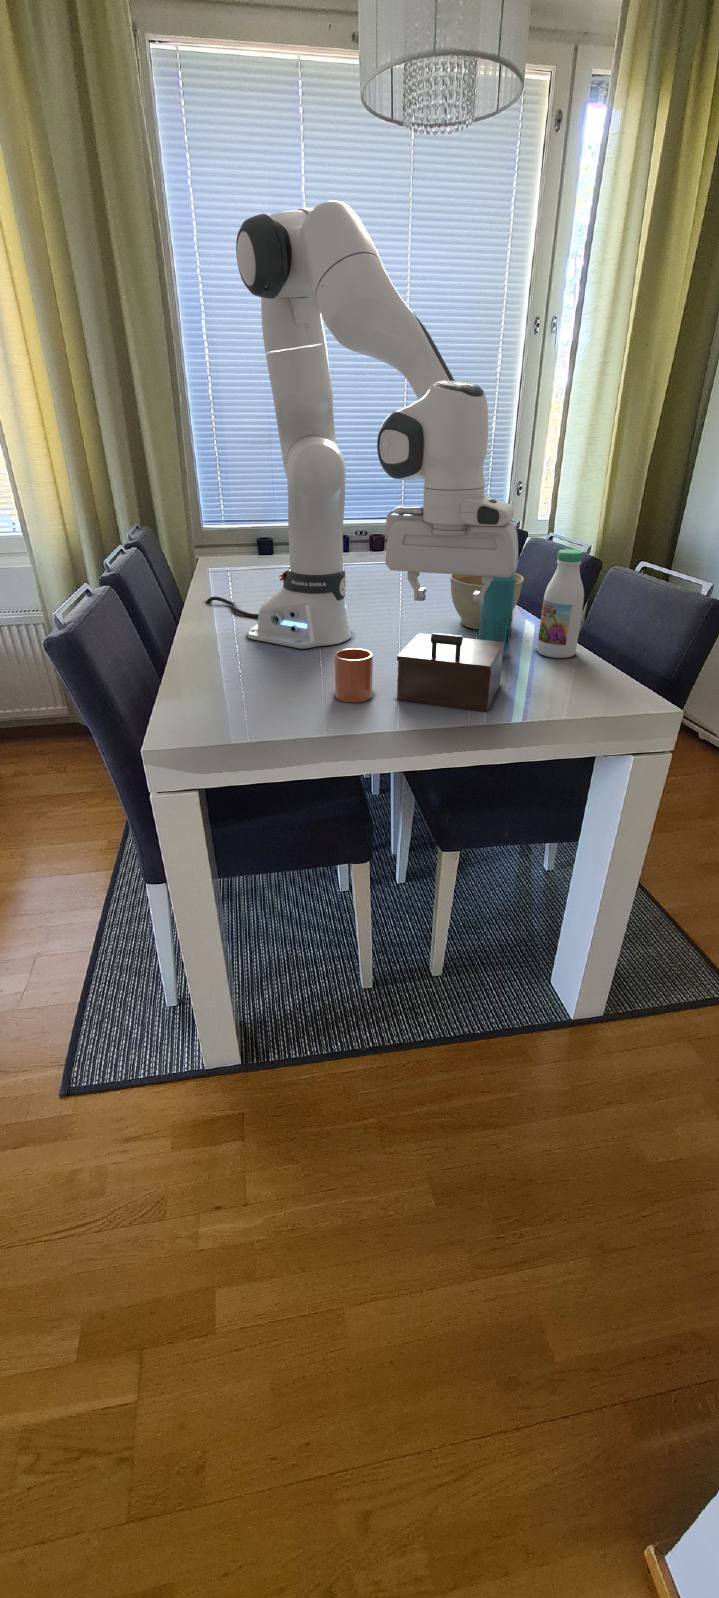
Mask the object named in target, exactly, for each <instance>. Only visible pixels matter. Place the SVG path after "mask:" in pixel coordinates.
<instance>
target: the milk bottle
mask: <svg viewBox="0 0 719 1598" xmlns="http://www.w3.org/2000/svg"><path fill="white" fill-rule="evenodd" d="M583 554H584V552H583V551H582V550H578V549H571V548H570V549H569V548H564V549H560V550H558V551H557V556H556V557H557V560H556V563H557V566H556V570H555V572H554V574H553V576H552V578H551V579H550V581H549V583H548V584H547V586H546V588H545V591H544V596H543V601H542V608H541V616H540V624H539V630H538V637H537V644H536V650H537V653H538V654H540V655H542V656H544V657H549V658H555V659H566V658H570V657H571V658H572V657H573V656H575V654H576V651H577V647H578V641H579V634H580V628H581V622H582V614H583V608H584V600H585V589H584V584H583V582H582V578H581V572H580V571H581V570H580V569H581V568H580V566H581V564H582V561H583V557H584V555H583Z"/></svg>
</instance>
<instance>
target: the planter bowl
mask: <svg viewBox="0 0 719 1598" xmlns="http://www.w3.org/2000/svg"><path fill="white" fill-rule="evenodd" d="M513 574H514V575H515V577H516V581H515V590H514V604H513V610H515V608H516V606H517V604H518V601H519V599H520V595H521V591H522V586H523V583H524V580H525V579H524V576H523V575H521V574H519V573H517V572H514V573H513ZM481 579H482V576H476V575H459V574H449V582H450V597H451V602H452V604H453V606H454V610H455V611H456V612H457V613H456V614H457V615H458V616H459V618H460V620H461V621H460V622H461V624H462V626H464V627H466V628H469V629H472V630H478V628H479V624H480V615H479V614H480V611H481V605H473V600H474V599H473V594H474V593H475V591H481V589H482V588H483V583H481Z"/></svg>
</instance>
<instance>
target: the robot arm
mask: <svg viewBox="0 0 719 1598" xmlns="http://www.w3.org/2000/svg"><path fill="white" fill-rule="evenodd" d="M235 243H236V244H235V253H236V263H237V268H238V272H239V275H240V278H241V281H242V283H243V285H244V286H245V287H246V289H247V290H248V291H249V293H250V294H252V295H253V296H255V297H259V298H260V308H261V309H260V311H261V313H260V314H261V328H262V340H263V346H264V354H265V358H266V359H265V360H266V365H267V370H268V377H269V381H270V388H271V394H272V399H273V400H272V401H273V405H274V413H275V419H276V424H277V433H278V439H279V444H280V453H281V458H282V464H283V470H284V472H285V473H284V474H285V476H286V480H287V482H286V483H287V485H286V486H287V521H288V523H287V525H288V526H287V532H288V549H289V550H288V551H289V568H287V570H286V571H284V572H282V573H281V574H280V575H278V577H279V582H282V584H283V585H282V588H280V589H279V590H278V591H276V592H275V593H274V594H273V595H272V596H271V597H269V598H268V599H267V600H266V601H265V602H264V603H263V604H262V605H261V606H260V608H259V611H258V613H251V612H247V611H244V610H242V609H240V608H237V605H236V603H235V602H234V601H231V600H228V599H226V598H224V597H221V596H211V597H209V598H208V599H207V600H206V601H205V604H210V603H212V602H213V601H217V602H222V603H224V604H226V605H229V606H231V607H232V610H233V611H234V612H235V613H236V614H239V615H241V616H244V617H248V618H253V619H257V624H255V625H254V626H252V627H251V628H249V630H248V631H247V637H248V639H250V640H253V641H254V640H255V641H259V642H260V641H261V642H265V643H270V644H275V645H280V646H286V647H290V648H296V649H301V650H304V649H305V650H306V649H310V648H315V647H323V646H332V645H337V644H341V643H344V642H346V641H348V640H350V639H351V638H352V633H351V632H352V631H351V630H350V625H349V621H348V616H347V610H346V609H347V605H346V599H345V598H346V594H347V593H346V592H347V579H346V569H344V517H345V501H346V476H347V475H346V473H347V472H346V471H347V468H346V467H347V466H346V461H345V458H344V455H343V453H342V451H341V450H340V448H339V447H338V446H337V439H336V437H337V436H336V429H335V414H334V413H335V412H334V394H333V388H332V387H333V386H332V380H331V371H330V364H329V358H328V357H329V356H328V349H327V348H328V347H327V341H326V335H325V329H324V324H325V326H326V328H327V329H328V331H329V332H330V333H331V335H332V336H333V338H334V339H335V340H336V341H337V342H338V343H339V344H340V345H341V346H342V347H344V348H346V349H347V350H349V351H352V352H355V353H358V354H361V355H364V356H367V357H370V358H373V359H375V360H379V361H380V362H382V363H384V364H387V365H389V366H391V367H392V368H394V369H395V370H396V371H398V372H399V373H400V374H401V375H402V376H403V377H404V378H405V379H406V381H407V382H408V383H409V385H410V387H411V389H412V390H413V392H414V394H415V396H416V398H417V401H414V402H413V403H412V404H410V405H407V406H405V407H403V408H401V409H399V410H396V411H392V412H390V413H389V414H388V415H387V416H386V417H385V418H384V419H383V421H382V423H381V424H380V427H379V430H378V433H377V439H376V451H377V457H378V460H379V463H380V465H381V467H382V470H383V471H384V472H385V473H386V474H387V475H388V476H389V477H390V478H392V479H396V480H399V481H415V480H424V483H423V503H422V505H423V506H409V507H405V506H396V507H394V509H392V510H390V511H389V512H388V514H387V515H386V519H385V529H386V534H387V541H386V549H385V565H386V566H387V568H388V569H389V570H390V571H395V572H407V580H408V582H409V584H410V586H411V588H412V590H413V600H414V601H417V602H425V600H426V599H427V598H426V597H427V594H426V592H427V587H422V586H421V584H420V582H419V579H418V577H419V576H420V575H421V574H420V573H426V574H427V573H428V574H444V575H445V574H446V575H451V574H459V575H476V576H482V579H481V583H485V584H484V586H483V588H482V589H481V591H475V593H474V594H473V599H474V600H473V605H483V603H484V594H485V592H486V590H487V589H488V587H489V586H490V584H491V583H492V581H493V577H510V576H511V575H512V574H513V573H516V571H517V570H518V564H519V537H518V532H517V531H518V530H517V528H516V527H515V525H514V524H513V523H512V522H511V521H512V520H513V519H514V514H515V507H514V506H513V505H512V504H510V503H508V502H505V501H502V500H500V499H497V498H494V497H492V496H489V495H487V494H485V485H486V482H485V477H484V465H485V462H486V461H485V460H486V457H487V454H488V443H489V442H488V441H489V407H488V400H487V396H486V393H485V391H484V389H482V388H481V386H479V385H477V384H475V383H472V382H468V381H464V380H463V381H459V380H455V378H454V377H453V375H452V372H451V371H450V368H449V367H448V365H447V364H446V362H445V360H444V358H443V356H442V354H441V353H440V351H439V349H438V347H437V345H436V343H435V342H434V340H433V338H432V337H431V334H430V333H429V332H428V330H427V328H426V327H425V326H424V324H423V322H422V321H421V320H420V319H419V318H418V317H417V315H416V314H415V313H414V312H413V311H412V310H411V309H410V307H409V306H408V305H407V303H406V302H405V301H404V299H403V298H402V296H401V295H400V293H399V292H398V290H397V288H396V287H395V285H394V284H393V282H392V280H391V279H390V277H389V275H388V273H387V271H386V269H385V267H384V265H383V262H382V260H381V258H380V255H379V252H378V251H377V248H376V247H375V244H374V241H372V238H371V237H370V235H369V233H368V231H367V230H366V228H365V226H364V223H363V220H362V219H361V217H360V216H359V215H358V214H356V212H355V211H354V210H353V209H352V208H351V206H350V205H348V204H346V203H345V202H343V201H339V200H325V201H324V202H322V203H319V204H317V205H316V206H315V207H313V208H312V207H311V208H310V207H309V208H308V207H303V208H298V209H295V210H286V211H281V212H275V213H271V214H266V213H260V214H256V215H254V216H251V217H249V218H247V219H245V220H244V221H243V222H242V224H241V225H240V227H239V229H238V231H237V236H236V242H235ZM323 322H324V324H323Z"/></svg>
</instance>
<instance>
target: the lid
mask: <svg viewBox="0 0 719 1598" xmlns="http://www.w3.org/2000/svg"><path fill="white" fill-rule="evenodd" d="M503 647H504V642H497V641H488V640H478V638H466V637H464V636H463V635H459V634H458V635H457V634H447V633H437V632H432V633H431V634H429V633H417V634H416V635H415V636H414V637H413V638H412V639H411V641H409V643H408V644H407V645H406V646H405V647H404V648H403V649H402V650H400V652H399V653H398V654H397V655H396V661H398V660H399V661H407V662H416V663H425V664H433V665H442V666H451V667H460V668H468V669H477V670H486V671H490V670H491V668H492V666H493V665H494V663H495V661H496V659H497V657H498V656H499V654H500V652H501V650H502V648H503Z"/></svg>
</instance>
